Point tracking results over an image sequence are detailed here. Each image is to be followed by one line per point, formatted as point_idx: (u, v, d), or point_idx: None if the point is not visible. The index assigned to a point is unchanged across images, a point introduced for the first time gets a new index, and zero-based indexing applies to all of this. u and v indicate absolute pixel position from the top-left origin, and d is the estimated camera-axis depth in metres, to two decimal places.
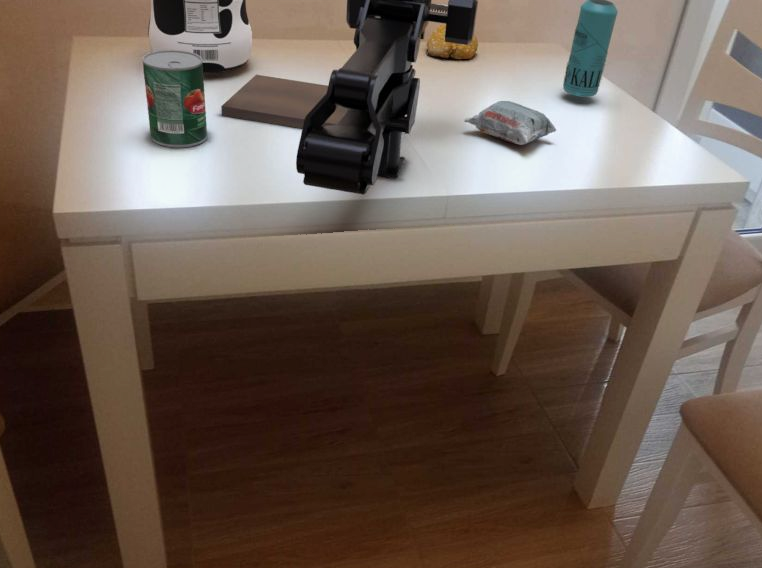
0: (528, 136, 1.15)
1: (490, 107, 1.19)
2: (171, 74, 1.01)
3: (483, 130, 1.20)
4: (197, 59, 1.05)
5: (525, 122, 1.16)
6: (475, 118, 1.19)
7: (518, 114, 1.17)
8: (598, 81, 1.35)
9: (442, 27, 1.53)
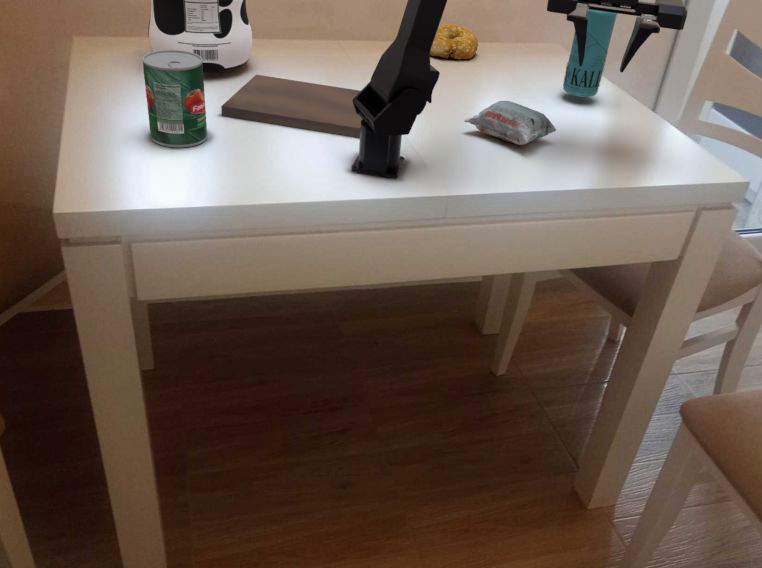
0: (528, 136, 1.15)
1: (490, 107, 1.19)
2: (171, 74, 1.01)
3: (483, 130, 1.20)
4: (197, 59, 1.05)
5: (525, 122, 1.16)
6: (475, 118, 1.19)
7: (518, 114, 1.17)
8: (598, 81, 1.35)
9: (442, 27, 1.53)
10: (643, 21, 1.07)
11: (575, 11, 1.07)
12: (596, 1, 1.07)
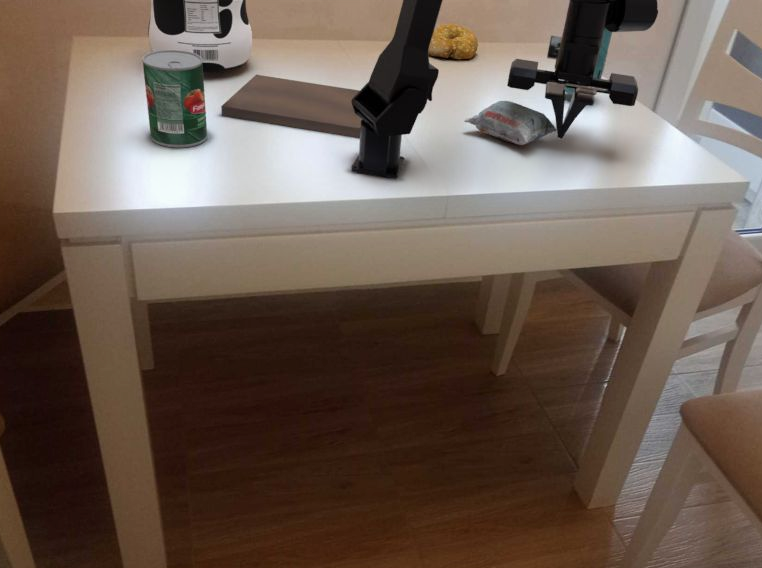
0: (528, 136, 1.15)
1: (490, 107, 1.19)
2: (171, 74, 1.01)
3: (483, 130, 1.20)
4: (197, 59, 1.05)
5: (525, 122, 1.16)
6: (475, 118, 1.19)
7: (518, 114, 1.17)
8: None
9: (442, 27, 1.53)
10: (578, 94, 1.14)
11: (553, 90, 1.13)
12: None
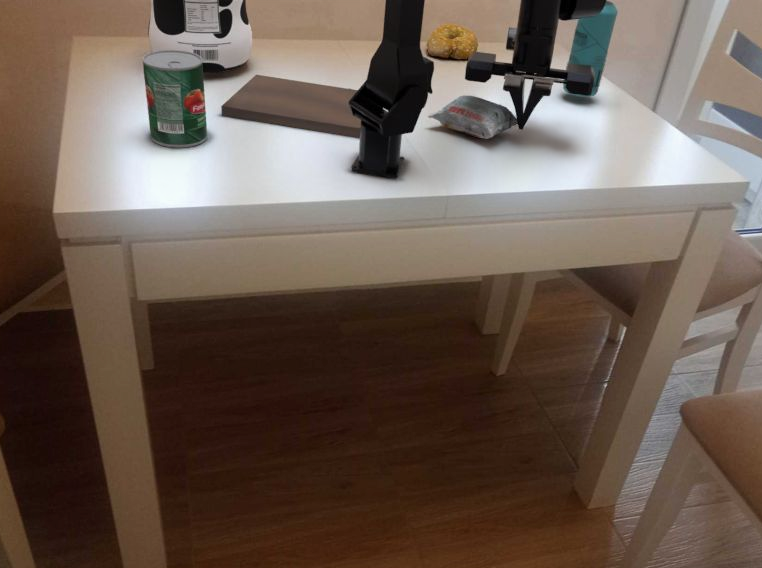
0: (493, 130, 1.16)
1: (453, 102, 1.20)
2: (171, 74, 1.01)
3: (447, 125, 1.20)
4: (197, 59, 1.05)
5: (489, 116, 1.17)
6: (439, 113, 1.19)
7: (482, 109, 1.17)
8: (598, 81, 1.35)
9: (442, 27, 1.53)
10: (535, 84, 1.14)
11: (510, 81, 1.14)
12: None
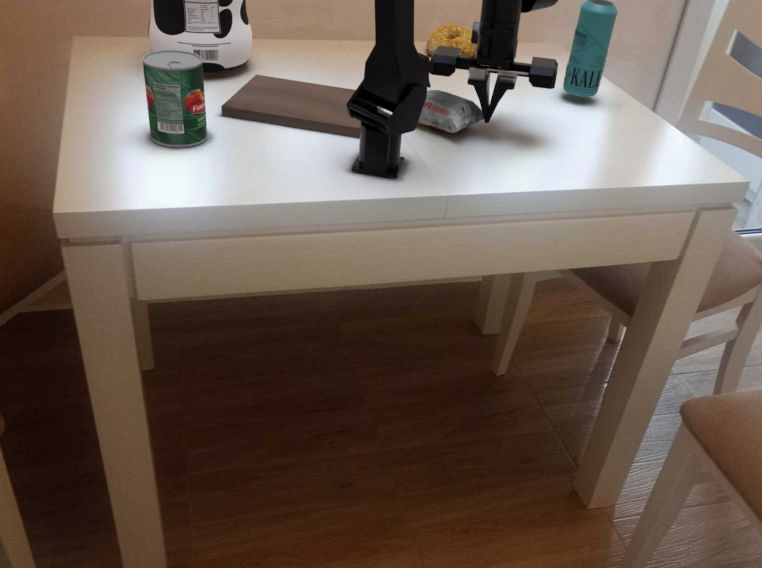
0: (459, 124, 1.17)
1: None
2: (171, 74, 1.01)
3: None
4: (197, 59, 1.05)
5: (455, 110, 1.17)
6: None
7: (449, 103, 1.18)
8: (598, 81, 1.35)
9: (442, 27, 1.53)
10: (499, 78, 1.15)
11: (474, 75, 1.15)
12: None
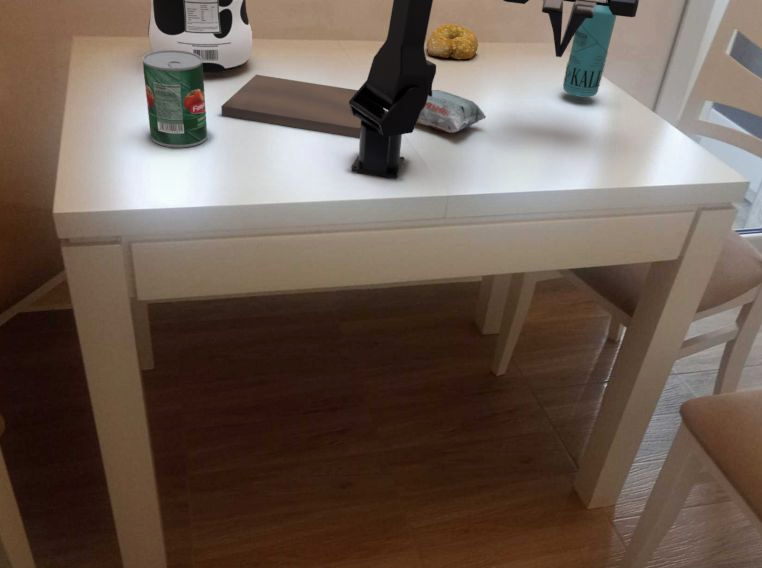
0: (459, 124, 1.17)
1: None
2: (171, 74, 1.01)
3: None
4: (197, 59, 1.05)
5: (455, 110, 1.17)
6: None
7: (448, 103, 1.18)
8: (598, 81, 1.35)
9: (442, 27, 1.53)
10: (577, 7, 1.10)
11: (550, 3, 1.10)
12: None
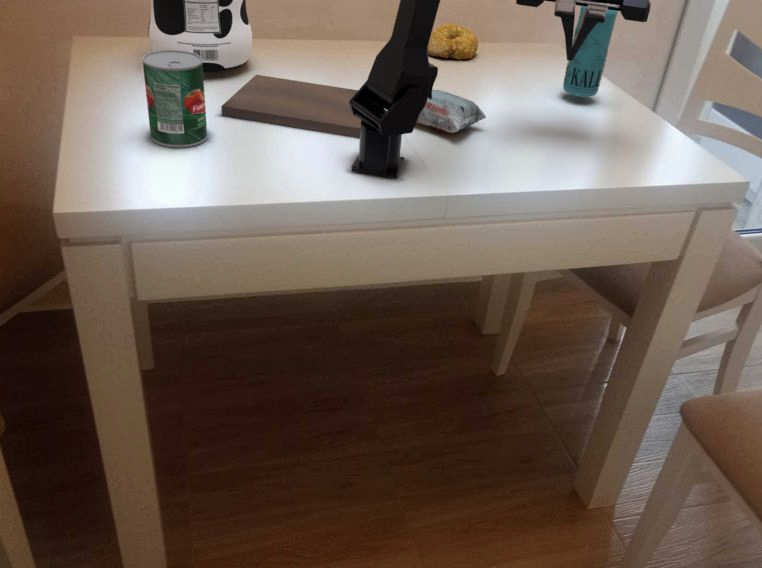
0: (459, 124, 1.17)
1: None
2: (171, 74, 1.01)
3: None
4: (197, 59, 1.05)
5: (455, 110, 1.17)
6: None
7: (448, 103, 1.18)
8: (598, 81, 1.35)
9: (442, 27, 1.53)
10: (589, 11, 1.11)
11: (562, 7, 1.10)
12: None
